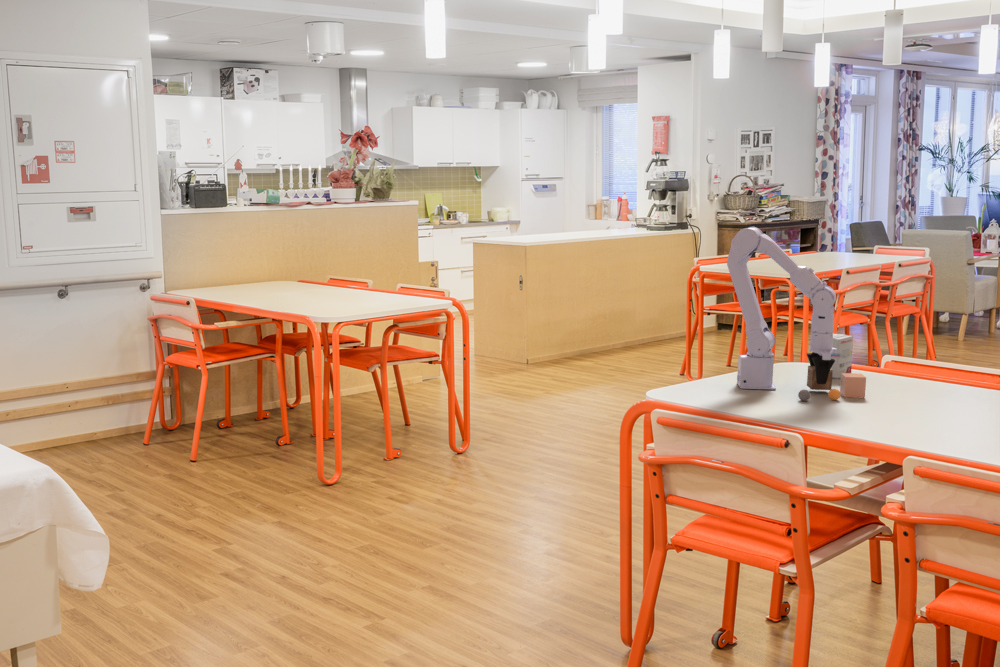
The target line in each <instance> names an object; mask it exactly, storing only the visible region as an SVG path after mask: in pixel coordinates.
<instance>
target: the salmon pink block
mask: <svg viewBox="0 0 1000 667" xmlns="http://www.w3.org/2000/svg"><path fill="white" fill-rule="evenodd" d="M866 384H867V377H866V376H865V375H863V374H862V373H856V372H855V373H853V372H851V373H841V378H840V385H839V391H840V396H842V395H843V396H844V397H843V396H842V397H843V398H847V397H865V398H866Z"/></svg>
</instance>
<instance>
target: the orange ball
mask: <svg viewBox="0 0 1000 667" xmlns="http://www.w3.org/2000/svg"><path fill="white" fill-rule="evenodd" d="M827 395H828V398H829V400H831V401H837V400H839V399H840V398H841V394H840V389H837V388H831V390H828V393H827Z"/></svg>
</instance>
